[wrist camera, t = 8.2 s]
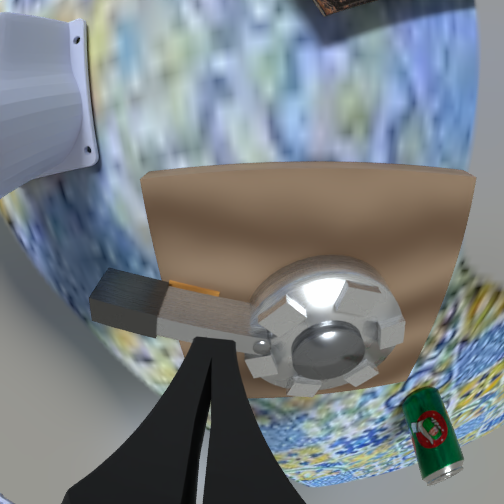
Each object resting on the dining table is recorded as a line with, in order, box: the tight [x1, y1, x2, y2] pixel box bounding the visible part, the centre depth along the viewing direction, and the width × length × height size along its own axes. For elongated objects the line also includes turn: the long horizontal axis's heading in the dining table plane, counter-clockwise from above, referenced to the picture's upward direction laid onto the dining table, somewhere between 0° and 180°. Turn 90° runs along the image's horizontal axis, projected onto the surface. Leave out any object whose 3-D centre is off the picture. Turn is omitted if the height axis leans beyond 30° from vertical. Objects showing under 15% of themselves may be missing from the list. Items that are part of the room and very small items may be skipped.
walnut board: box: [140, 162, 476, 398], centre depth 20 cm, size 20×20×2 cm
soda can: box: [402, 387, 464, 486], centre depth 24 cm, size 5×5×12 cm
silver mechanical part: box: [89, 255, 405, 397], centre depth 17 cm, size 19×10×4 cm, turn 76°
